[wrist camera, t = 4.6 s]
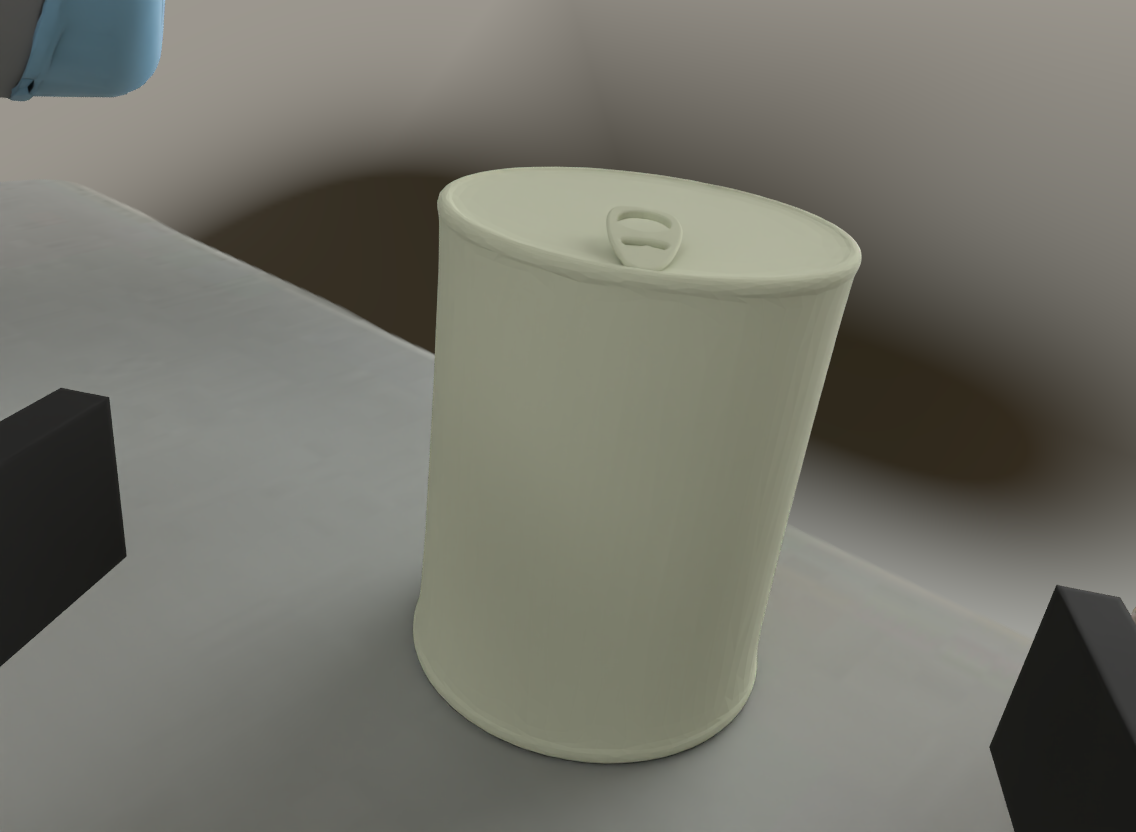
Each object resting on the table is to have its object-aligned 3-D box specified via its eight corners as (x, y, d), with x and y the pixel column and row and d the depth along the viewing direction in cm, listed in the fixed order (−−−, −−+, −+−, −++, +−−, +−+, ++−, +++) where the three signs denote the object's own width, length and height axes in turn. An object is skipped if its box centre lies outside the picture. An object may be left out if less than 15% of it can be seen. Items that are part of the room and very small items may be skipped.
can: (369, 732, 21) (383, 210, 16) (452, 519, 29) (479, 130, 24) (772, 795, 21) (921, 284, 16) (741, 562, 29) (832, 177, 24)
